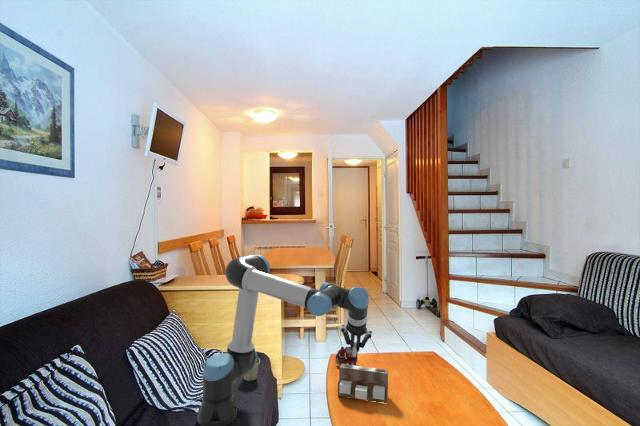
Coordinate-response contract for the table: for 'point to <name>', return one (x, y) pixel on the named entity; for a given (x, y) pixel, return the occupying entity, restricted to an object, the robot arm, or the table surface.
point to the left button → (345, 387)
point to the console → (363, 379)
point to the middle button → (361, 392)
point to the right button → (379, 392)
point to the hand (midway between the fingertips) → (354, 353)
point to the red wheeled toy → (349, 358)
